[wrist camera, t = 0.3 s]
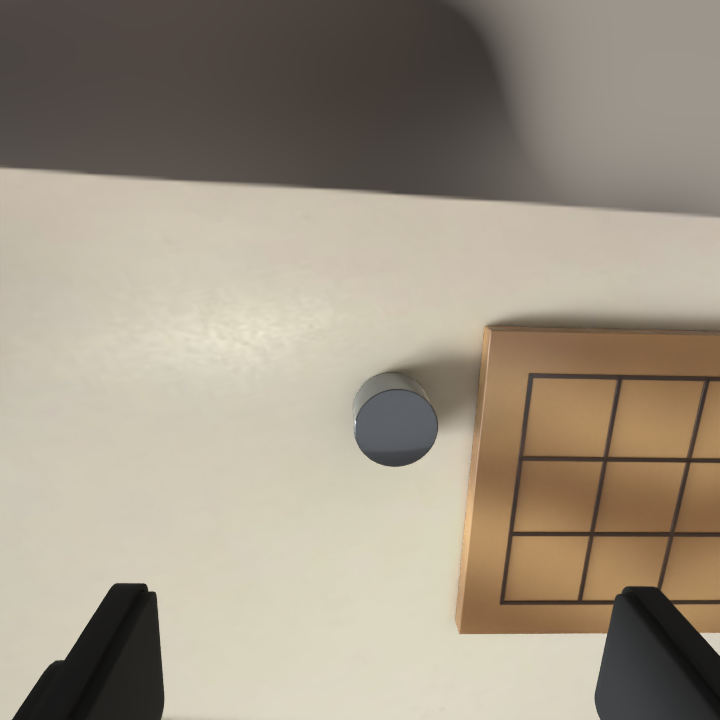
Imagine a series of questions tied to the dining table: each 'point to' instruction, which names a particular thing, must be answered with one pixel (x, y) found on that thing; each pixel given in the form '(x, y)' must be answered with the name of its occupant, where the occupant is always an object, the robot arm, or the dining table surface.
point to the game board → (591, 478)
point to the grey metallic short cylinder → (394, 420)
